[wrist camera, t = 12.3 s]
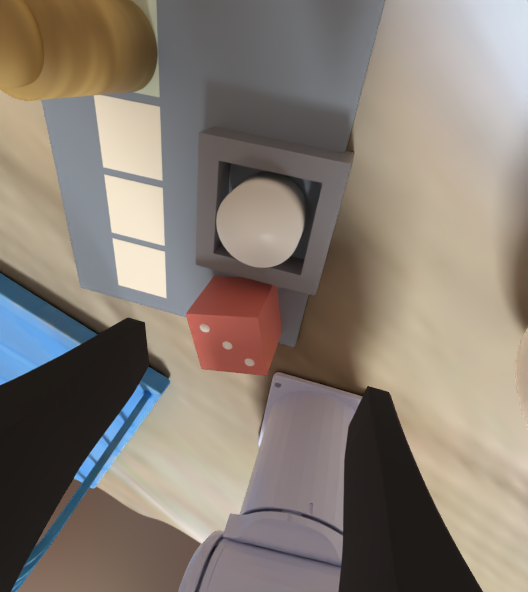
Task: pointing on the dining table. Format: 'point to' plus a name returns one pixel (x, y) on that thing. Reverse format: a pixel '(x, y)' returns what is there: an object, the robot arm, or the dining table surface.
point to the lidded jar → (522, 375)
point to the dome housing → (279, 159)
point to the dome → (262, 219)
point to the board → (185, 133)
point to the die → (236, 325)
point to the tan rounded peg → (74, 48)
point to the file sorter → (43, 348)
